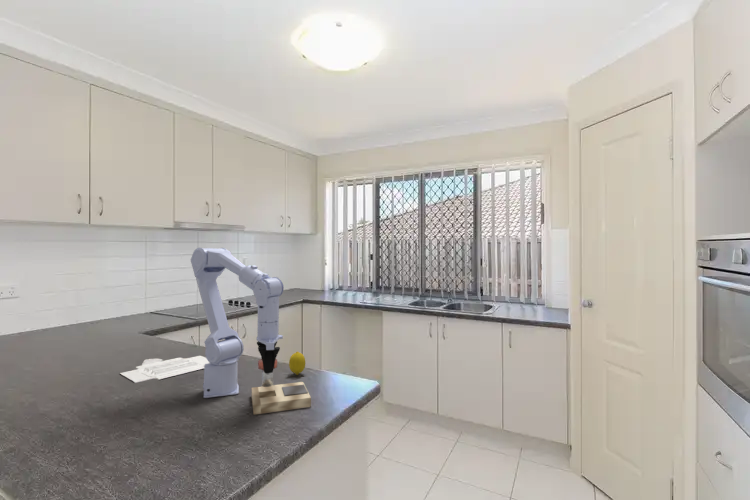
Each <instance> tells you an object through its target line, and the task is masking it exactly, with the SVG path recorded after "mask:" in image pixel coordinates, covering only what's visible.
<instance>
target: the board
mask: <svg viewBox="0 0 750 500" xmlns="http://www.w3.org/2000/svg"><path fill="white" fill-rule="evenodd" d="M251 406H252V412H253V414H252V415H255V416H256V415H262V414H268V413H275V412H276V413H277V412H283V411H289V410H298V409H303V408H304V409H305V408H312V397H311V395H310V393H309V390H308V389H307V387H306V385H305V383H304V382H303V381H298V382H289V383H281V384H273V385H272V386H270V387H263V386H262V385H261V386H256V387H254V386H253V387H251Z"/></svg>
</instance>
